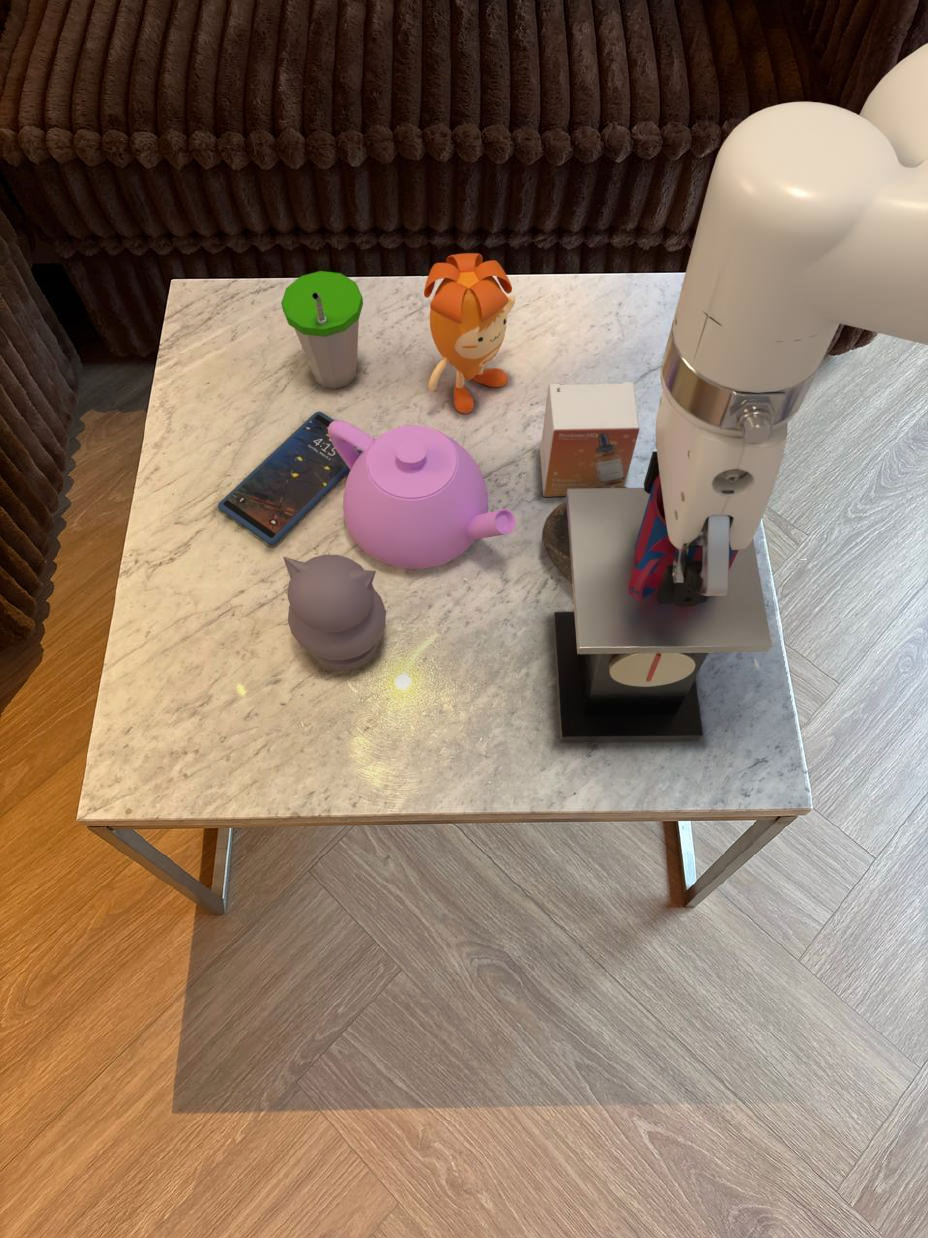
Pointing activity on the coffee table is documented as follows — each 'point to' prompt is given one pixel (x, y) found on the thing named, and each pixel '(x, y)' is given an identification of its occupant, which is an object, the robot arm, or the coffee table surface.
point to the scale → (639, 631)
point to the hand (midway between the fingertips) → (673, 542)
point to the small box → (588, 436)
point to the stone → (560, 538)
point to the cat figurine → (335, 610)
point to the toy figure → (468, 321)
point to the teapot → (414, 495)
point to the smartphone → (288, 482)
